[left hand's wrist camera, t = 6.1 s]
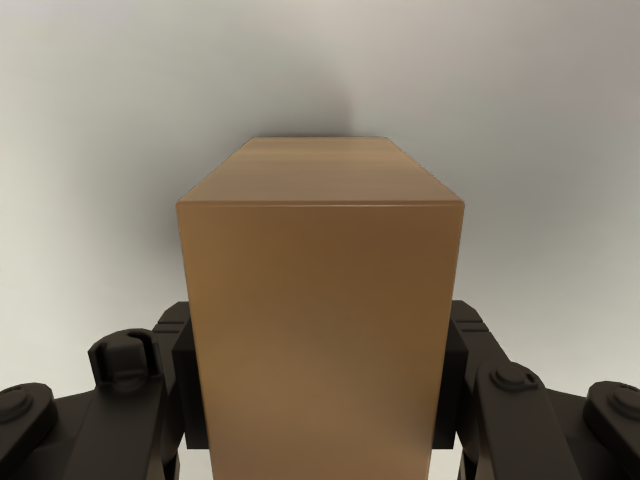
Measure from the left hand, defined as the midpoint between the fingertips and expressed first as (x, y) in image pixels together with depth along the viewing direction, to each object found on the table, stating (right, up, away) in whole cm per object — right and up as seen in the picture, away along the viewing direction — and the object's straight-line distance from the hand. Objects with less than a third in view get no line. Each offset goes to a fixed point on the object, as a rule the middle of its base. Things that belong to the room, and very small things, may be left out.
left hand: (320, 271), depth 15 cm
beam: (0, -25, +11) cm, 27 cm away
